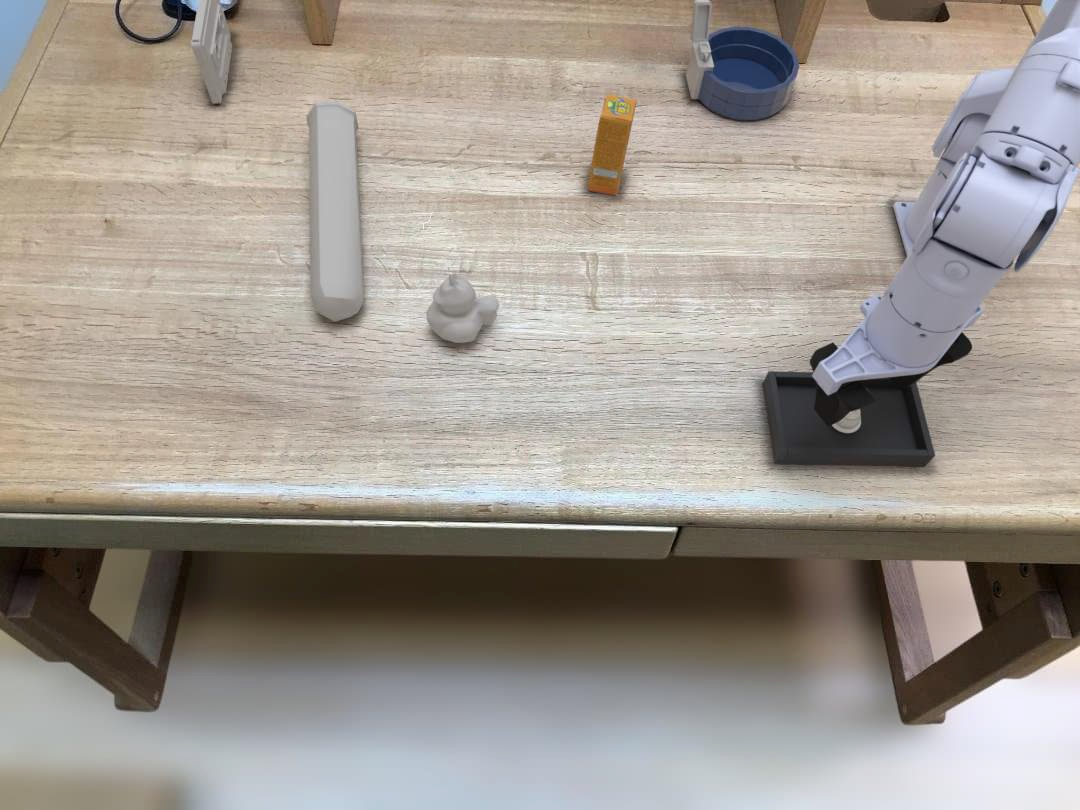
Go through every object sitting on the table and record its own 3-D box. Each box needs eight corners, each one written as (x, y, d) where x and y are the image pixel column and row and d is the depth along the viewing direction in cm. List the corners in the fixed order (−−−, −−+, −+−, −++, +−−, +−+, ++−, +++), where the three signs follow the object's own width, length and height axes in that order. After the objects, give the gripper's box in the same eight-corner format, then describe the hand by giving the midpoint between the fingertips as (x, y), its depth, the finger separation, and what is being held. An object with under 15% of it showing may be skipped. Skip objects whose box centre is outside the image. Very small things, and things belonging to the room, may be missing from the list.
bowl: (781, 57, 101) (791, 28, 97) (795, 123, 95) (806, 94, 92) (687, 54, 100) (693, 24, 97) (695, 120, 95) (703, 91, 91)
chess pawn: (856, 438, 74) (877, 410, 70) (824, 427, 75) (844, 398, 70) (863, 413, 76) (884, 383, 71) (832, 401, 76) (851, 371, 72)
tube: (373, 299, 76) (362, 105, 88) (311, 292, 74) (309, 95, 86) (362, 333, 80) (353, 143, 92) (303, 328, 78) (303, 135, 90)
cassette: (219, 35, 99) (198, -27, 92) (235, 34, 99) (216, -28, 93) (208, 105, 93) (185, 44, 87) (225, 105, 93) (204, 44, 87)
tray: (904, 386, 78) (914, 374, 76) (925, 466, 74) (935, 455, 72) (762, 383, 78) (768, 370, 76) (774, 464, 73) (781, 453, 72)
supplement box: (619, 197, 88) (632, 121, 80) (587, 191, 89) (596, 115, 80) (624, 174, 90) (637, 98, 81) (592, 169, 90) (602, 92, 82)
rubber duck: (426, 307, 80) (419, 251, 74) (496, 301, 81) (495, 246, 74) (430, 355, 78) (423, 302, 71) (502, 348, 78) (502, 295, 72)
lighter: (706, 99, 96) (721, 37, 89) (691, 99, 96) (705, 37, 89) (696, 57, 100) (710, -5, 93) (681, 58, 100) (694, -5, 93)
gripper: (967, 226, 64) (895, 331, 75) (813, 295, 60) (762, 394, 72) (1035, 294, 61) (949, 392, 72) (877, 371, 57) (813, 461, 69)
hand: (860, 398), depth 72 cm, fingers open, 7 cm apart
